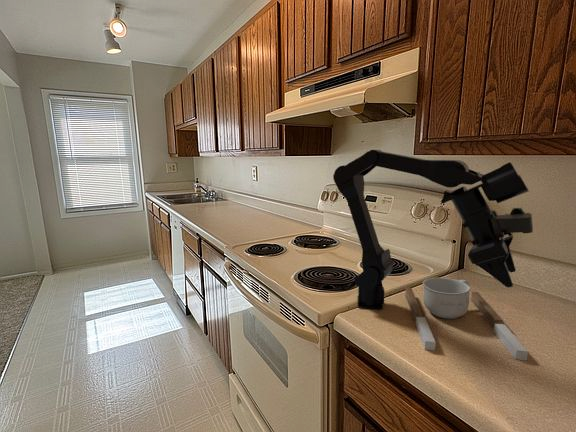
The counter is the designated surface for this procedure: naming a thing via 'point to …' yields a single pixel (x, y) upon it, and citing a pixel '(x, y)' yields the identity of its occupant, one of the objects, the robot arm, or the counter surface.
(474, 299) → the cradle
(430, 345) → the bar
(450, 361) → the counter surface
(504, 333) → the marker right
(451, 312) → the teacup
